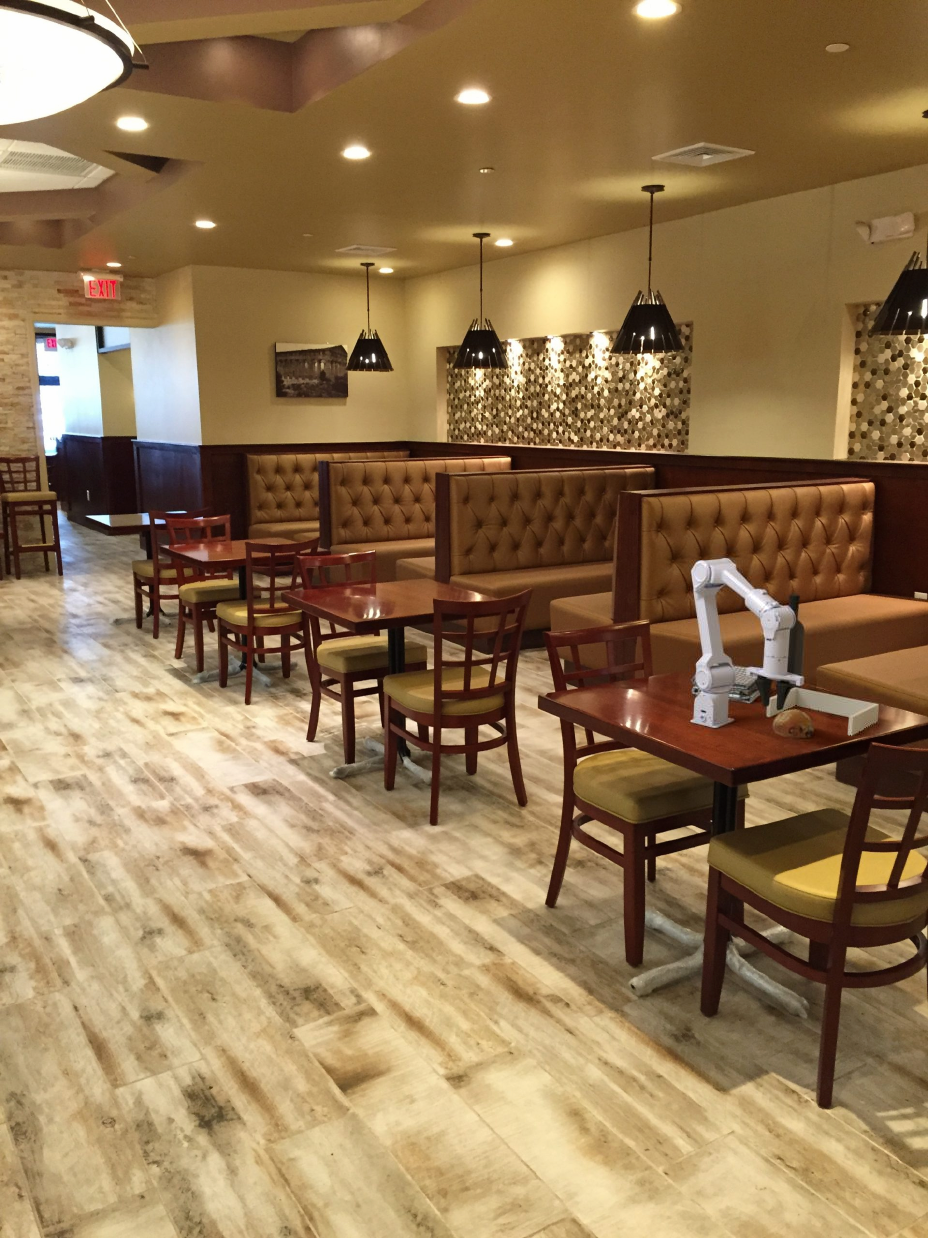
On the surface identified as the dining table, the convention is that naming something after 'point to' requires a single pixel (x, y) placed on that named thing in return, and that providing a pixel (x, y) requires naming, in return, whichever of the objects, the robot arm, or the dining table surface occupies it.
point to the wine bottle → (795, 641)
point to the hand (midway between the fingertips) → (772, 707)
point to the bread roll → (793, 724)
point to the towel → (738, 686)
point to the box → (830, 707)
